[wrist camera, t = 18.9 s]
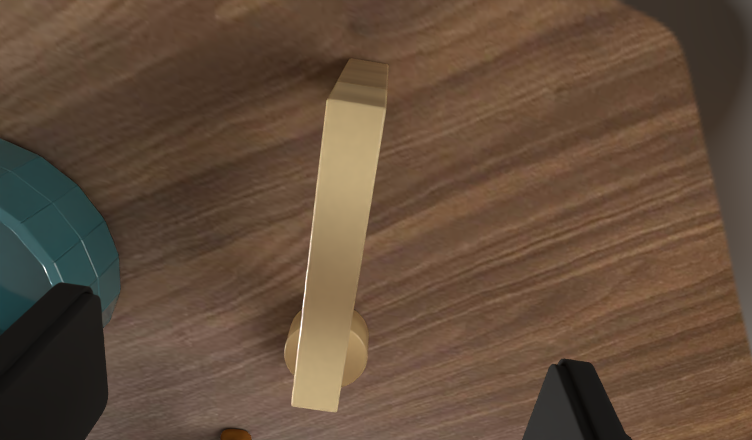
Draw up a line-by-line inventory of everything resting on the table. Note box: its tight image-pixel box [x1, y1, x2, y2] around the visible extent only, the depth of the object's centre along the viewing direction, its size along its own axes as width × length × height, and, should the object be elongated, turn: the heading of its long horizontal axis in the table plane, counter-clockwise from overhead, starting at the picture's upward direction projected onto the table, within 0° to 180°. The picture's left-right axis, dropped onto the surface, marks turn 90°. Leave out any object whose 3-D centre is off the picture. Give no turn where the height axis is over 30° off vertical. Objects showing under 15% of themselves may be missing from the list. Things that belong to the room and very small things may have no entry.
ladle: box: [284, 58, 389, 412], centre depth 24 cm, size 17×4×9 cm, turn 171°
